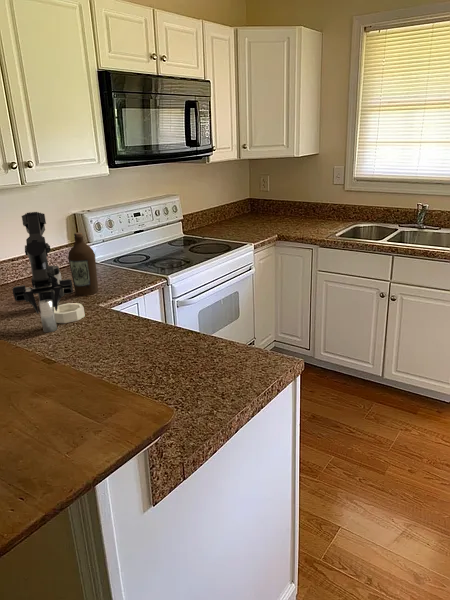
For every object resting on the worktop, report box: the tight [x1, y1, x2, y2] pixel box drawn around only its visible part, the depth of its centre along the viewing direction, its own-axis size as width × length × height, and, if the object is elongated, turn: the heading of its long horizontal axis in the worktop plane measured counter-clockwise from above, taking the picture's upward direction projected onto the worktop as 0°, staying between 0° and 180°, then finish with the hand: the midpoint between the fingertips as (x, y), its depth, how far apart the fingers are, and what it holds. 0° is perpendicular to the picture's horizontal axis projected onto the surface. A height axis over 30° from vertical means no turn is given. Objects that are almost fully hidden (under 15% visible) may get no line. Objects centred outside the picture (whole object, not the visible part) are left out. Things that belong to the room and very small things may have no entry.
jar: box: [49, 265, 63, 284], centre depth 196 cm, size 9×8×12 cm
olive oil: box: [67, 232, 99, 296], centre depth 197 cm, size 11×11×25 cm
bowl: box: [54, 302, 86, 324], centre depth 171 cm, size 11×11×4 cm
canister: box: [37, 299, 58, 333], centre depth 159 cm, size 4×4×10 cm
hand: (47, 311), depth 158 cm, fingers open, 5 cm apart
